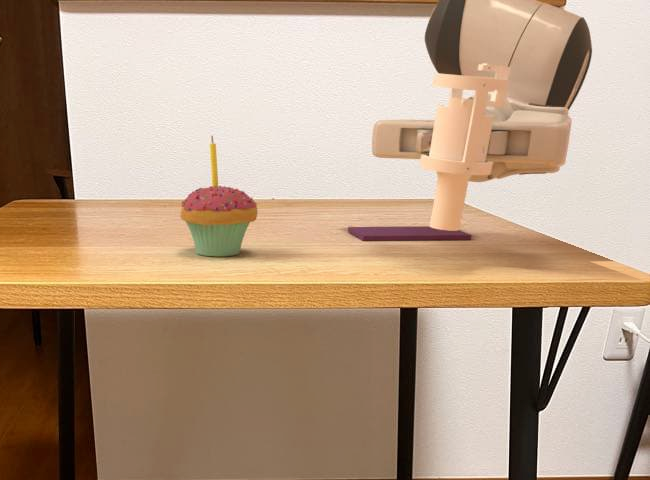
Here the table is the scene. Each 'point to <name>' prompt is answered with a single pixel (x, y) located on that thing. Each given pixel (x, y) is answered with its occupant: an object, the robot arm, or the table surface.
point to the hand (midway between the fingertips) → (450, 143)
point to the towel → (406, 233)
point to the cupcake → (218, 216)
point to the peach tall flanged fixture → (461, 140)
